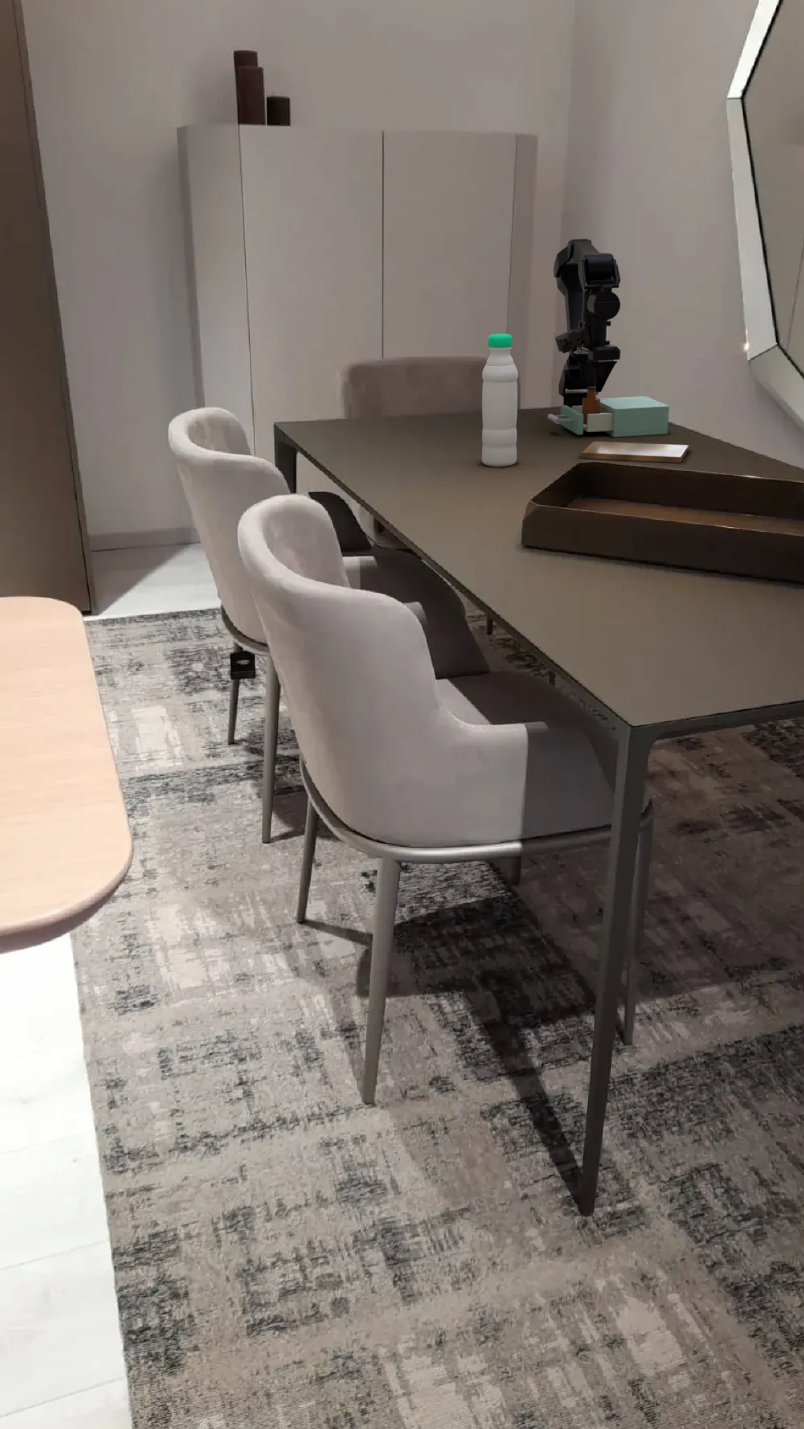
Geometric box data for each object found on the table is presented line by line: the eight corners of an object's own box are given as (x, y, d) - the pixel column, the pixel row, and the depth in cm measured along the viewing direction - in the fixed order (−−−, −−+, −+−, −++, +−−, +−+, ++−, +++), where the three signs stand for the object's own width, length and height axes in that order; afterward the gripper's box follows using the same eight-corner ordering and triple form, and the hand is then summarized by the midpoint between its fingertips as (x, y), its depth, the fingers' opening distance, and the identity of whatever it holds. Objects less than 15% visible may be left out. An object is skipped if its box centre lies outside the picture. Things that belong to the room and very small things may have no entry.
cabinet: (613, 437, 246) (615, 409, 243) (592, 425, 259) (594, 399, 256) (667, 433, 248) (669, 406, 245) (644, 422, 261) (645, 396, 258)
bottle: (579, 424, 250) (581, 388, 247) (583, 421, 254) (585, 385, 250) (597, 425, 249) (599, 388, 245) (600, 421, 252) (602, 385, 249)
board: (581, 458, 227) (581, 452, 226) (593, 446, 237) (593, 441, 236) (680, 463, 220) (680, 457, 220) (688, 451, 230) (688, 445, 230)
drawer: (559, 435, 244) (560, 416, 243) (542, 425, 256) (543, 406, 255) (627, 431, 246) (628, 412, 245) (607, 421, 258) (608, 402, 257)
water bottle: (514, 467, 220) (516, 336, 210) (479, 467, 222) (479, 336, 211) (518, 460, 226) (520, 332, 216) (484, 459, 228) (484, 332, 217)
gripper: (547, 313, 249) (545, 385, 255) (572, 321, 232) (569, 397, 239) (595, 311, 250) (591, 382, 257) (623, 319, 234) (619, 394, 240)
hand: (591, 389), depth 248 cm, fingers open, 9 cm apart
